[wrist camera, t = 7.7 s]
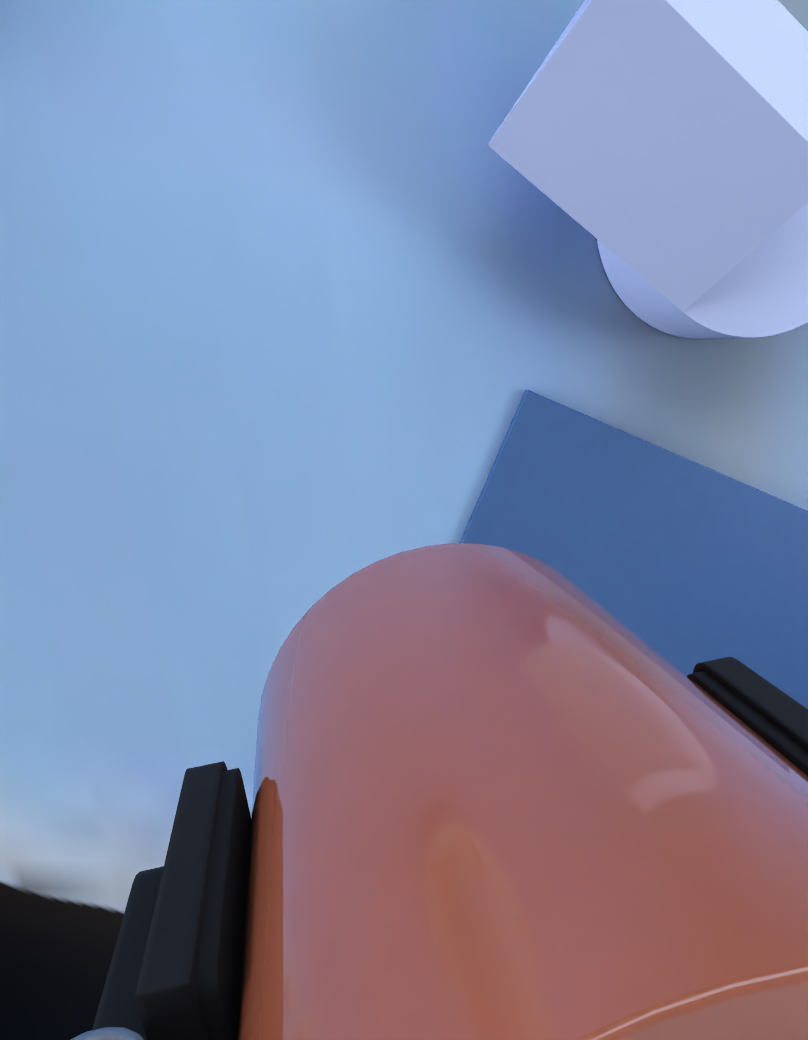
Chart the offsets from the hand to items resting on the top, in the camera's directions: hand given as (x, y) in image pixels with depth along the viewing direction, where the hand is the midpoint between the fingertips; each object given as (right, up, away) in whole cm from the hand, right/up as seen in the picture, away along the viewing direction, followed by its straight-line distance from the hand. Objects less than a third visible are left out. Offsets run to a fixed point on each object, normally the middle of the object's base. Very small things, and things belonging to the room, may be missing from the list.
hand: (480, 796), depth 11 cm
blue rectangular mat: (+10, -1, +20) cm, 22 cm away
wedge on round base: (+9, +17, +16) cm, 25 cm away
